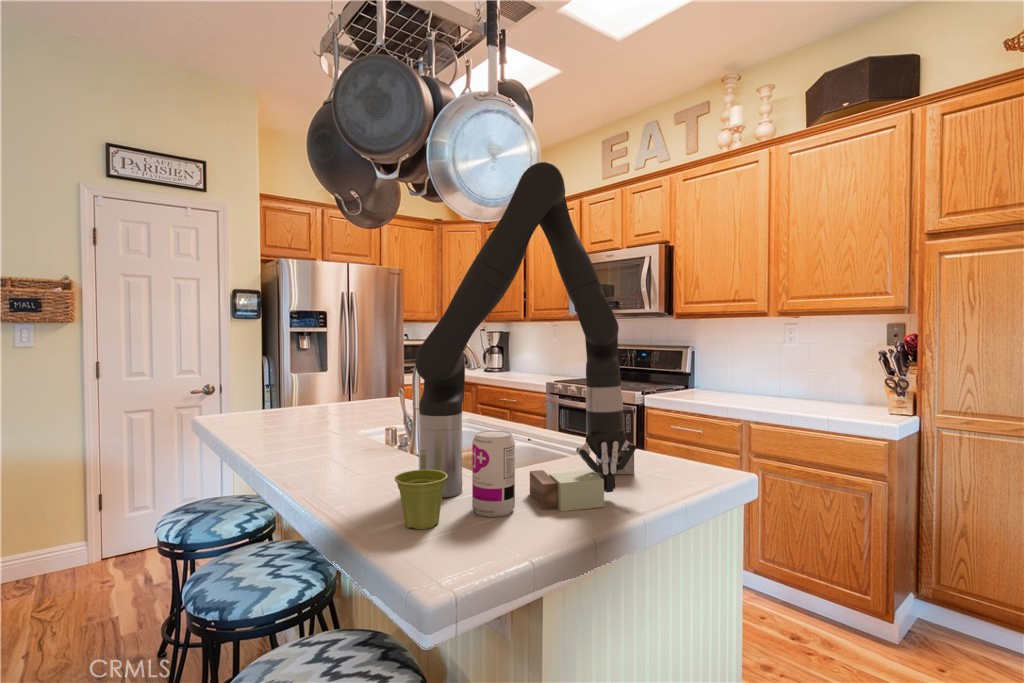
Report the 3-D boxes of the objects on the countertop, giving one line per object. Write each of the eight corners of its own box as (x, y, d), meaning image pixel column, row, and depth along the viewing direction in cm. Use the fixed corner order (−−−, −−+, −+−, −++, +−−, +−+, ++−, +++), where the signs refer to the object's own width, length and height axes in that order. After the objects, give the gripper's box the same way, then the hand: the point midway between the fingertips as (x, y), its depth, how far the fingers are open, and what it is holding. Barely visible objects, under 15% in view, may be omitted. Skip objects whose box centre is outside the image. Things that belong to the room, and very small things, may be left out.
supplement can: (483, 521, 94) (483, 439, 94) (465, 507, 101) (466, 432, 101) (522, 514, 98) (522, 435, 98) (502, 501, 105) (502, 428, 105)
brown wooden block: (542, 509, 100) (542, 484, 100) (529, 494, 110) (529, 470, 110) (557, 508, 101) (557, 483, 101) (543, 493, 111) (543, 470, 111)
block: (560, 511, 99) (560, 483, 99) (549, 500, 106) (549, 473, 106) (604, 506, 101) (603, 479, 101) (590, 496, 108) (590, 470, 108)
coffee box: (631, 468, 131) (631, 405, 131) (634, 475, 125) (634, 409, 125) (595, 467, 132) (595, 405, 132) (596, 474, 126) (597, 408, 126)
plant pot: (400, 537, 86) (400, 486, 86) (390, 519, 95) (390, 472, 95) (454, 529, 90) (454, 479, 90) (439, 512, 99) (439, 467, 99)
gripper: (580, 412, 101) (584, 500, 101) (642, 407, 104) (646, 492, 104) (568, 408, 108) (571, 489, 108) (625, 403, 111) (629, 483, 111)
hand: (608, 491), depth 106 cm, fingers closed
